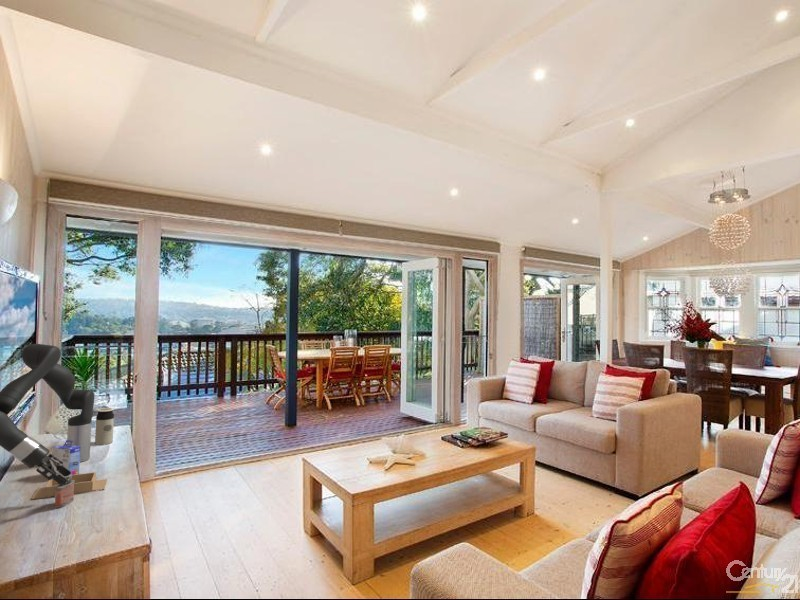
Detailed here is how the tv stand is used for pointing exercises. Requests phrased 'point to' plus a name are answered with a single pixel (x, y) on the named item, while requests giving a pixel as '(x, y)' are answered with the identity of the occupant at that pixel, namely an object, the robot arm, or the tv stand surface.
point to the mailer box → (81, 485)
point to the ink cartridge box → (68, 456)
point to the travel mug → (104, 426)
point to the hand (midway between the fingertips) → (67, 478)
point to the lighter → (64, 493)
